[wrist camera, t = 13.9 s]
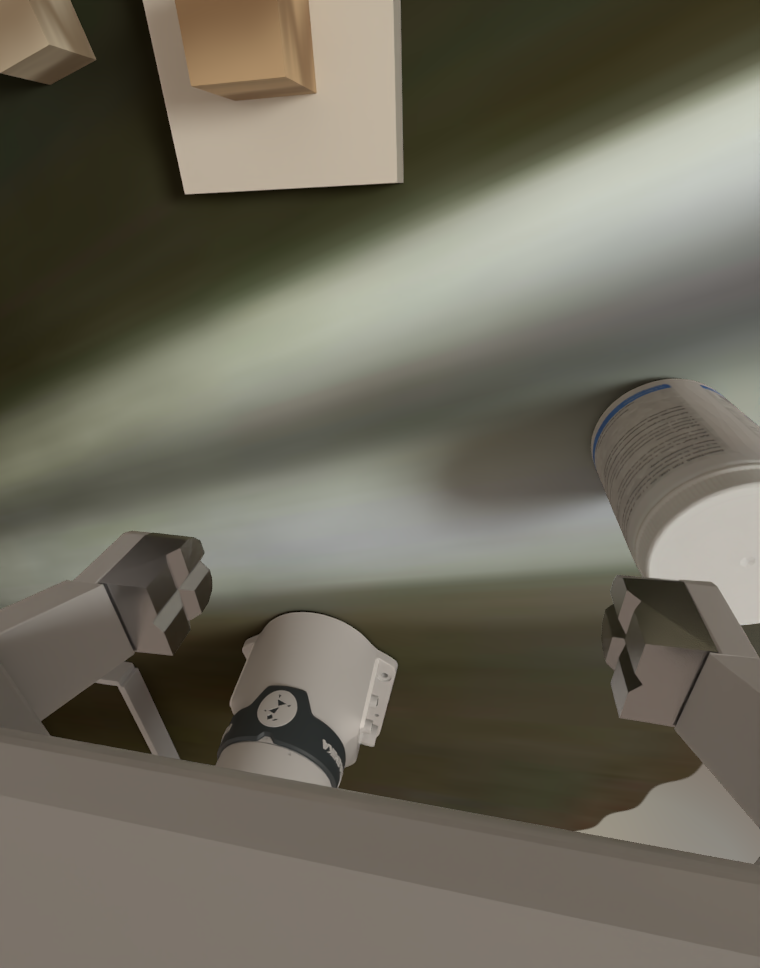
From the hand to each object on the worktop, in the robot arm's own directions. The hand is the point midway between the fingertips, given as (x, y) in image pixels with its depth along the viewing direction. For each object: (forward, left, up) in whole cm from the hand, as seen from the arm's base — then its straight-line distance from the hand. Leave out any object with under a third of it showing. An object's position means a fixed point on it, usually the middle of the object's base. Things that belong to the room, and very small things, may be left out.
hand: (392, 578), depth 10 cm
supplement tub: (-10, -15, -29) cm, 34 cm away
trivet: (+14, +11, -29) cm, 34 cm away
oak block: (+14, +11, -27) cm, 32 cm away
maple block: (+16, +26, -29) cm, 42 cm away
